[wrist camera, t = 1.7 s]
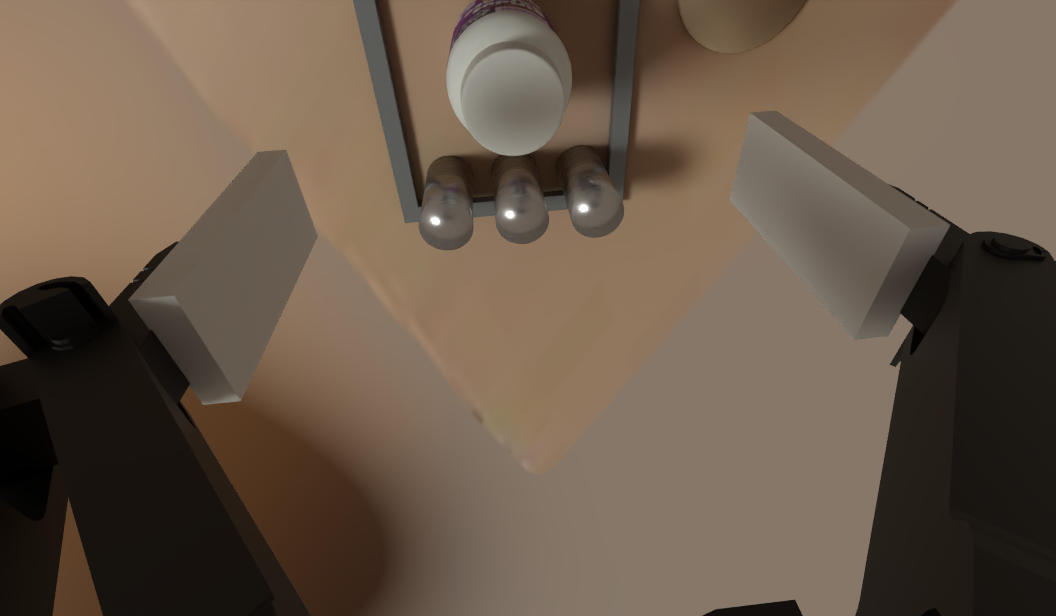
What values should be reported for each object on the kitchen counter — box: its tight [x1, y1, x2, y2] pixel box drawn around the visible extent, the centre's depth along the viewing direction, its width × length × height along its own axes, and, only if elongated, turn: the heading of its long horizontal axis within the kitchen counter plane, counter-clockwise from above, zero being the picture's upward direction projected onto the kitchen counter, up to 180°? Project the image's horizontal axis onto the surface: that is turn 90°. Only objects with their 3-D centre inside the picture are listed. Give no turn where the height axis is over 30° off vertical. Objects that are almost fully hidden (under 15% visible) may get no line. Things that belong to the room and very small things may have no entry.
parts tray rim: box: [353, 0, 640, 223], centre depth 26 cm, size 19×14×1 cm
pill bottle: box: [446, 0, 572, 156], centre depth 22 cm, size 5×5×10 cm
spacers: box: [419, 145, 624, 250], centre depth 24 cm, size 17×11×6 cm, turn 3°
